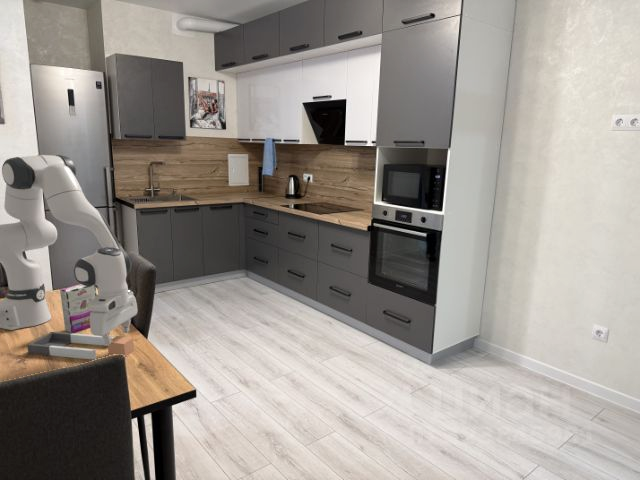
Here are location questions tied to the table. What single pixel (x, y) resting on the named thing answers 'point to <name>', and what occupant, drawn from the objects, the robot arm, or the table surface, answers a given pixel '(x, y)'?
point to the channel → (78, 351)
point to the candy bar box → (77, 306)
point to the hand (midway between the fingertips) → (117, 337)
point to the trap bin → (49, 342)
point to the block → (121, 346)
